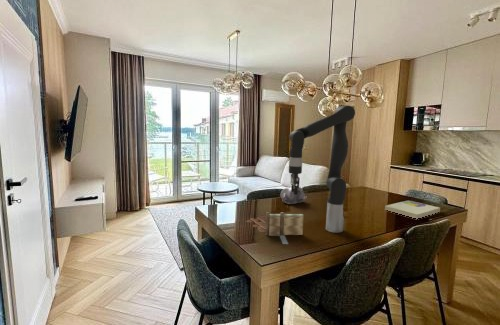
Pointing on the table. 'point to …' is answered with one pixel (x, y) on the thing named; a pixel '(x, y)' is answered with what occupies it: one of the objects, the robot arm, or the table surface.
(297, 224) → the gate panel
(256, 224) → the decorative fence
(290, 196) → the toy elephant
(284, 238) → the card
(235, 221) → the table surface
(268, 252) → the table surface
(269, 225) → the fixed leg
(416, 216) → the puzzle box
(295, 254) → the table surface
